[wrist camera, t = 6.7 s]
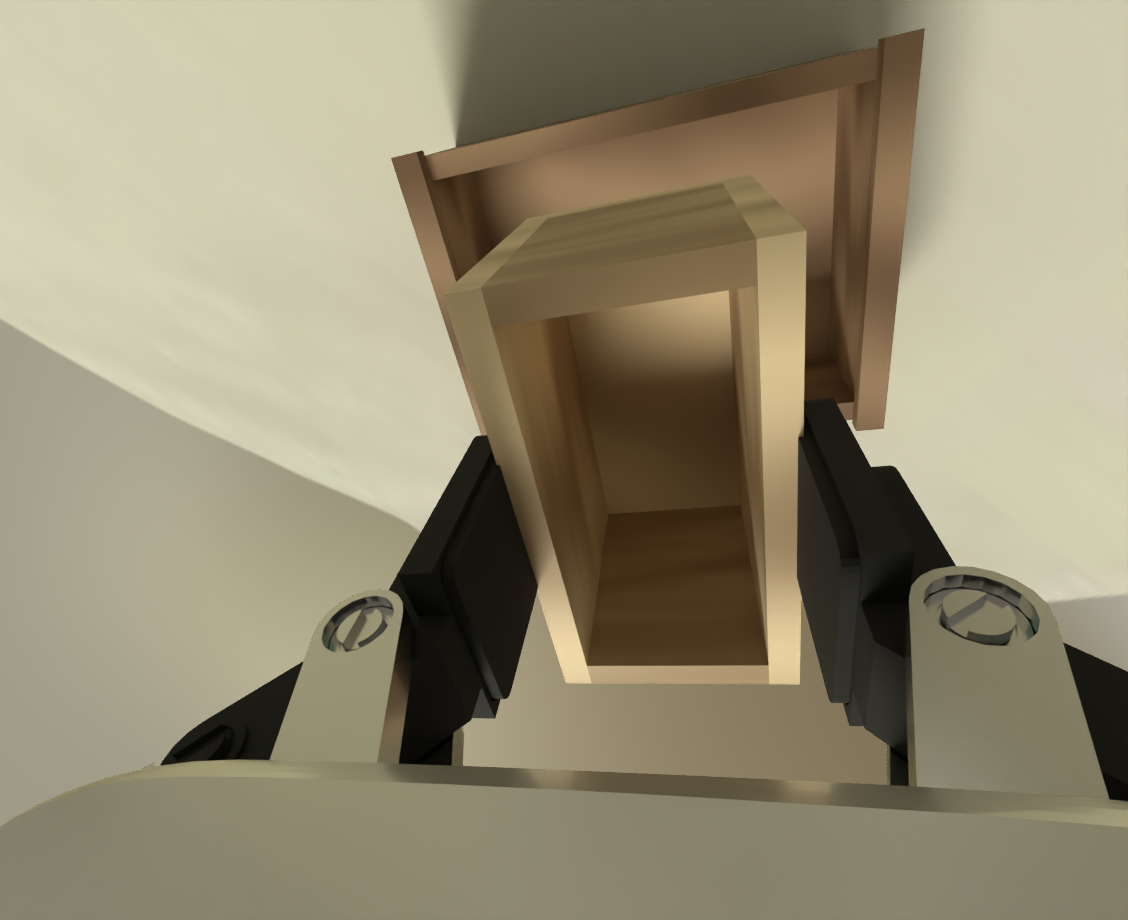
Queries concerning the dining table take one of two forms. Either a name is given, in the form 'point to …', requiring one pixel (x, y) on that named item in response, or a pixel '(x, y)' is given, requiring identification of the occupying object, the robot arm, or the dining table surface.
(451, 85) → the dining table surface
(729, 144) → the walnut crate
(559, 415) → the oak crate
